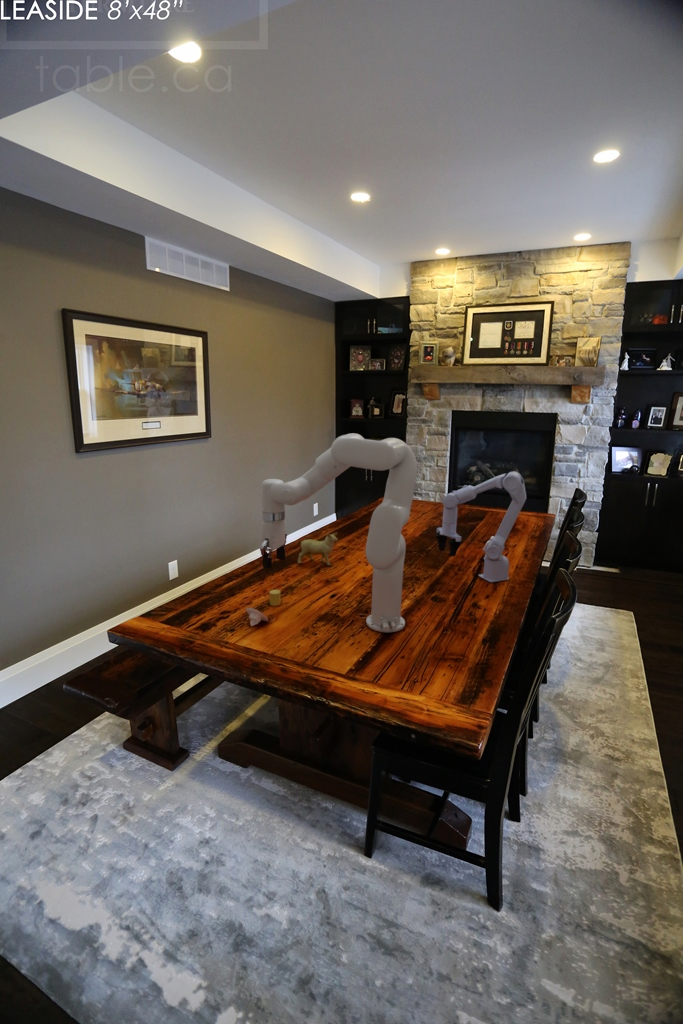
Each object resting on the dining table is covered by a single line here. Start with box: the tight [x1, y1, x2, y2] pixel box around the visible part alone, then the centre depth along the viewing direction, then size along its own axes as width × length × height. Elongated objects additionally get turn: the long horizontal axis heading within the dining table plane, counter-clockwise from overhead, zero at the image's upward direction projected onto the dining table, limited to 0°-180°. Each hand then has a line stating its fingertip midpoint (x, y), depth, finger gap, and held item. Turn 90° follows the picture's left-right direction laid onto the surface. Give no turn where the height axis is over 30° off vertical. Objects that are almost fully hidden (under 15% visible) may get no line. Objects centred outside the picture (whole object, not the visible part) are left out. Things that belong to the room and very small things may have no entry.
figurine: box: [482, 535, 495, 561], centre depth 223 cm, size 8×8×12 cm
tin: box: [269, 589, 282, 607], centre depth 176 cm, size 4×4×4 cm
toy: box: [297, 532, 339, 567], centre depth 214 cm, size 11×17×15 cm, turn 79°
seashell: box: [245, 607, 269, 627], centre depth 160 cm, size 8×5×8 cm
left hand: (274, 563), depth 173 cm, fingers open, 9 cm apart
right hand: (447, 553), depth 210 cm, fingers open, 7 cm apart
